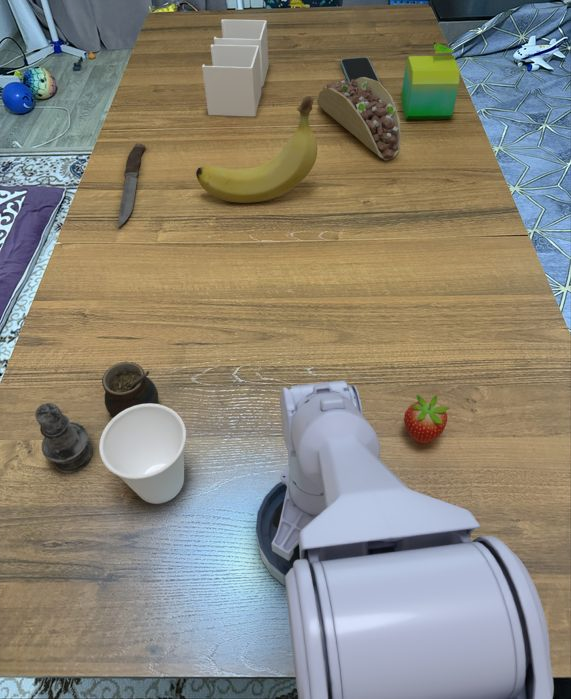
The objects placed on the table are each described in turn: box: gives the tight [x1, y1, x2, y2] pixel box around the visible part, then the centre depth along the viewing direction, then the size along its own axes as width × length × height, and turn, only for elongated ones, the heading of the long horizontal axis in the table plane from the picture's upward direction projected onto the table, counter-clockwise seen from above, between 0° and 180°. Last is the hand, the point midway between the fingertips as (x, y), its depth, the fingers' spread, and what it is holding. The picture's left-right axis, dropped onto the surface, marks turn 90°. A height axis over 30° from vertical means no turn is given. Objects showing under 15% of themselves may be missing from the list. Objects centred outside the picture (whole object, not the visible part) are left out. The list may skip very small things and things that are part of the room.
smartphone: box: [340, 56, 380, 82], centre depth 143 cm, size 7×1×15 cm
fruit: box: [403, 394, 450, 444], centre depth 75 cm, size 5×5×8 cm
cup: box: [98, 403, 187, 505], centre depth 70 cm, size 10×10×11 cm
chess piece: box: [34, 402, 94, 474], centre depth 73 cm, size 6×6×12 cm
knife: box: [117, 142, 146, 228], centre depth 115 cm, size 28×3×1 cm, turn 4°
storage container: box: [201, 18, 270, 117], centre depth 136 cm, size 25×11×11 cm, turn 174°
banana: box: [195, 95, 318, 204], centre depth 105 cm, size 23×6×20 cm, turn 93°
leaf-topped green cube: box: [401, 41, 460, 121], centre depth 126 cm, size 11×10×15 cm
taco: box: [316, 77, 402, 162], centre depth 123 cm, size 10×27×10 cm, turn 29°
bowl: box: [255, 481, 300, 587], centre depth 68 cm, size 13×13×4 cm
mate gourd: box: [101, 360, 159, 419], centre depth 78 cm, size 7×8×10 cm
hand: (315, 524), depth 66 cm, fingers closed on sponge, 4 cm apart
